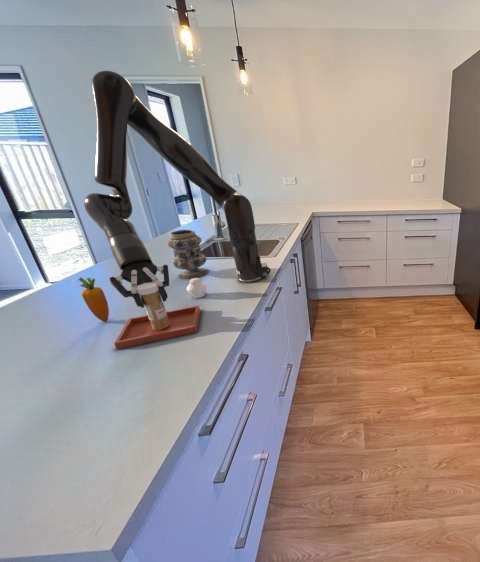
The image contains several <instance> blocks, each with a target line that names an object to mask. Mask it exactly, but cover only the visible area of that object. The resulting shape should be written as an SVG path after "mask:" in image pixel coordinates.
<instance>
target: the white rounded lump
mask: <svg viewBox="0 0 480 562" xmlns="http://www.w3.org/2000/svg"><path fill="white" fill-rule="evenodd" d="M207 286H208V285H207V284H206V282H204V281H202V280H201V279H200V278H199V277H193V278H190V280H189V282H188V285H187V287H186V291H187V293H188V294H190V295H191V297H193V298H194V299H200V298H203V297H204V296H205V295H206V291H207Z"/></svg>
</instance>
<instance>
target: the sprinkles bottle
mask: <svg viewBox="0 0 480 562" xmlns="http://www.w3.org/2000/svg"><path fill="white" fill-rule="evenodd" d="M137 290H138V293H139V295H140V297H141V299H142V301H143V303H144V310H145V312H146V315H148V318H149V320H150V322H151V324H152V328H153V330H162V329H165V328H167V327H168V326H169V325H170V322H169V319H168V316H167V313H166V312H167V310H166V307H165V304H164V302H163V300H162V298H161V296H160V293H159V290H158V286H157V284H156V283H151V282H150V283H144V284H142V285H138V287H137Z"/></svg>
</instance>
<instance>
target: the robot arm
mask: <svg viewBox="0 0 480 562" xmlns="http://www.w3.org/2000/svg"><path fill="white" fill-rule="evenodd" d="M90 88H91V91H92V94H93V98H94V105H95V111H96V112H95V113H96V137H95V138H96V139H95V150H94V151H95V152H94V169H93V170H94V172H93V178H94V181H95V183H97V184H99V185H101V186H104V187H107V188H109V189H110V190H111V191H112V194H113V195H112V194H106V193H100V192H92V193H89V194H87V195H86V196H85V198H84V199H83V206H84V207H83V208H84V209H85V212H86V213H87V215H88V216H89V217H90V218H91V219H92V221H93V222H95V224H96V225H97V226H98V227H99V228H100V229H101V230H102V231H103V232H104V234H105V236H106V239H107V241H108V244H109V247H110V250H111V253H112V256H113V258H114V259H115V261H116V264H117V265H118V268H119V270H120V274H119V275H117V276H110V277H109V281H110V284H111V286H113V287H114V288H115V289H116V291H118V292H119V293H120V294H121V295H122V297H123V298H133V300H134V303H135V304H136V306H137V307H138V308H141V309H143V308H144V309H145V307H144V303H143V301H142V298H141V296H140V294H139V293H138V290H137V287H138V286H140V285H142V284H145V283H156V284H157V286H158V290H159V294H160V297H161V300H162V302H163V303H165V302H166V301H167V300H168V298H169V296H168V293H167V291H166V289H165V288H166V287H169V286H170V274H169V265H168V264H163V266H162V265H161V266H158V265H156V264H155V263H154V262H153V261H152V258H151V257H150V254H149V252H148V250H147V248H146V246H145V244H144V242H143V240H142V239H141V238H140V236H139V234H138V232H137V230H136V227H135V226H134V223H132V221H130V220H128V219H129V218H130V217H131V216H132V213H133V204H132V201H131V198H130V193H129V189H128V185H127V174H128V147H127V135H128V134H127V133H128V127H130V128H131V129H133V130H134V131H135V132H136V133H137V134H138V135H140V137H141V138H142V139H143V140H144V141H145V142H146V143H147V145H149V146H150V147H151V148H152V149H153V150H154V151H155V152H156V153H157V154H158V155H159V156H160V157H161V158H162V159H163V160H164V161H166V162H167V163H168V164H169V165H170V166H171V167H172V168H173V169H174V170H175V171H176V172H178V173H179V174H180V175H181V176H183V177H184V178H185V179H186V180H188V181H189V182H190V183H192V184H194V185H195V186H196V187H198V188H200V189H201V190H203V191H204V192H205V193H207V194H208V196H210V198H212V199H213V201H215V202H216V204H217V205H218V206H219V207H220V208H221V210H222V211H223V212H224V216H225V221H226V225H227V232H228V233H227V234H228V237H229V241H230V242H229V243H230V247H231V250H232V255H233V260H234V263H235V272H236V274H237V278H238V281H239V282H240V283H241V282H242V283H253V282H257V281H259V280H261V279H262V280H263V279H264V278H265V276H264V274H265V275H267V276H268V275H269V274H270V273H271V267H269V266H268V264H267V262H262V259H261V255H260V252H259V246H258V240H257V235H256V224H255V219H254V211H253V207H252V204H251V201H250V200H249V199H248V198H247V197H246V196H245V195H243V194H242V193H241V192H239V191H238V190H236V189H235V188H233V187H232V186H231V185H230V184H229V183H227V182H226V181H225V180H224V179H223V178H222V177H221V176H220V175H219V174H218V173H217V171H216V170H215V169H214V167H213V166H212V165H211V164H210V163H209V162H208V160H207V159H206V158H205V157H204V156H203V155H202V153H200V152H199V151H198V150H197V149H196V148H195V147H194V146H193V144H191V143H190V142H189V141H188V140H187V139H185V138H184V137H183V136H182V135H180V134H179V133H178V132H177V131H175V130H174V129H172V128H171V127H169V126H168V125H167V124H165V123H164V122H163V121H161V120H160V119H159V118H158V117H156V116H155V115H154V114H153V113H152V112H151V111H150V110H149V108H147V107H146V106H145V105H144V103H143V102H142V101H141V100H140V99H139V98H138V96H136V93H135V90H134V88H133V86H132V84H131V83H130V82H129V81H128V79H126V78H125V77H124V76H122V75H121V74H119V73H118V72H116V71H112V70H101V71H98V72H96V73H95V74H94V75H93V76H92V78H91V82H90ZM157 272H159V273H160V274H161V275H163V281H160V279H159V278H158V277H157V276H156V274H157ZM123 280H124V281H126V282H128V283H130V285H131V288H130V290H128V289H127V288H126V287H124V285H123Z"/></svg>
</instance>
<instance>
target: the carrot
mask: <svg viewBox="0 0 480 562" xmlns="http://www.w3.org/2000/svg"><path fill="white" fill-rule="evenodd" d="M77 280H78V281H80V282H81V283H82V284H80V285H79V286H80V287H81V288H82V287H83V288H85V289H83V290H81V293H80V294H81V297H82V298H83V300H84V302H85V304H86V306H87V307H88V309H89V311H90V312H91V313H92V315H93V316H95V318H97V319H98V320H100V321H101V322H103V323H106V322H107V321H108V320H109V315H110V309H109V303H108V300H107V298H106V294H105V293H104V290H103V289H102V288H101V287H100V286H95V282H96V278H95V277H92V278H90V277H86V279H84V278H83V277H78V279H77Z"/></svg>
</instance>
